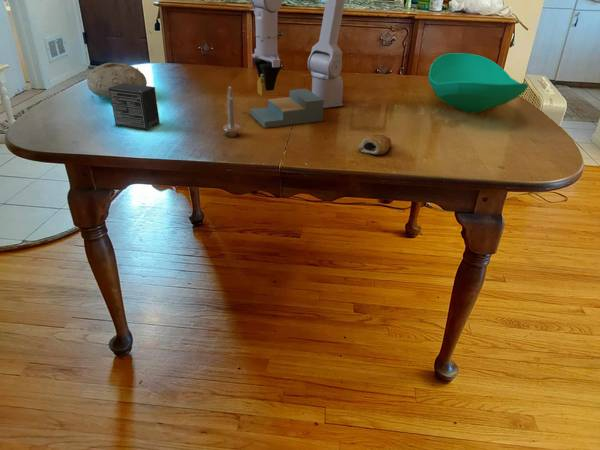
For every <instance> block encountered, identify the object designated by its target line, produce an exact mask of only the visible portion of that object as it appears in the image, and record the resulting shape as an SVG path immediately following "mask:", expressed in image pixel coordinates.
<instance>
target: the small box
mask: <svg viewBox="0 0 600 450" xmlns="http://www.w3.org/2000/svg"><path fill="white" fill-rule="evenodd" d="M109 92H110V97H111V98H110V101H111V107H112V112H113V117H114V118H113V119H114V123H115V126H116V127H119V128H127V129H134V130H139V131H146V132H147V131H149V130H152V129H153V128H155V127H158V126H159V125H160V124H161V123H160V122H161V121H160V115H159V107H158V101H157V94H156V87H155V86H150V85H146V86H142V85H134V84H126V83H122V84H119V85H116V86H113V87H110V88H109Z"/></svg>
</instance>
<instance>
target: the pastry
mask: <svg viewBox="0 0 600 450" xmlns="http://www.w3.org/2000/svg"><path fill="white" fill-rule="evenodd" d="M391 145H392V139H391V138H389V137H388V136H386V135H383V134H369V135H367V136H364V137H363V139H362V140H361V142H360V144H359V145H358V149H359V150H360V153H364V154H372V155H375V156H381V155H384V154H386V153H388V151H389V149H390V147H391Z"/></svg>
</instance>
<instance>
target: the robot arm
mask: <svg viewBox="0 0 600 450" xmlns="http://www.w3.org/2000/svg"><path fill="white" fill-rule="evenodd" d="M249 2H250V5H251V7H252V8H253V14H254V17H255V18H254V19H255V22H254V23H255V48H254V53H252V54H251V57H252V58H253V60H252V63H253V65H254V67H255V70H256V72H257V75H258V78H259V77H261V74H263V75H262V77H264V82H265V88H266V90H267V91H270V90H274V87H275V83H276V82H277V78H278V75H279V73H280V71H281V69H282V64H281V59H280V57H279V52H278V11H279V10H280V9H281V8H282V6H283V2H284V0H249ZM345 2H346V0H325V3H324V9H323V16H322V21H321V27H320V33H319V39H318V42H316V43H315V44H314V45H313V46H311V52H310V54H309V56H308V58H307V68H308V70H309V72H310V76H312V79H311V80H312V81H311V92H312V93H314V94H315V95H317V96H318V97H320V98H321V99H323V100H324V101H323V109H328V108H335V107H343V106H344V103H343V97H344V96H343V95H344V80H343V77H342V76H341V75H340V73H341V71H342V69H343V51H342V50H341V49H340V47H339V45H338V39H339V35H340V29H341V24H342V17H343V13H344V8H345Z"/></svg>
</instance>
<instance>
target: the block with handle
mask: <svg viewBox="0 0 600 450" xmlns="http://www.w3.org/2000/svg"><path fill="white" fill-rule="evenodd" d="M262 75H263V74H261V77H259V76H258V77H257V81H256V84H257V85H256V86H257V94H258V95H259V96H261V97H268V96H270V97H271V96H277V95H278V82H277V81H276V83H275V87H274V90H270V91H267V90H266V88H265V82H264V77H262Z"/></svg>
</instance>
